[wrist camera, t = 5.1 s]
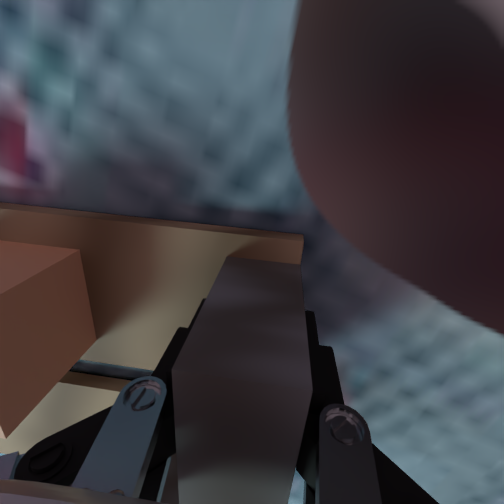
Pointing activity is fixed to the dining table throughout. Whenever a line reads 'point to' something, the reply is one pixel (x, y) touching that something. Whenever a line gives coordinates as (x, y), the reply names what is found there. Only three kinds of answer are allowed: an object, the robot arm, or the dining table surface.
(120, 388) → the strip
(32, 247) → the block
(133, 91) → the dining table surface
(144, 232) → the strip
